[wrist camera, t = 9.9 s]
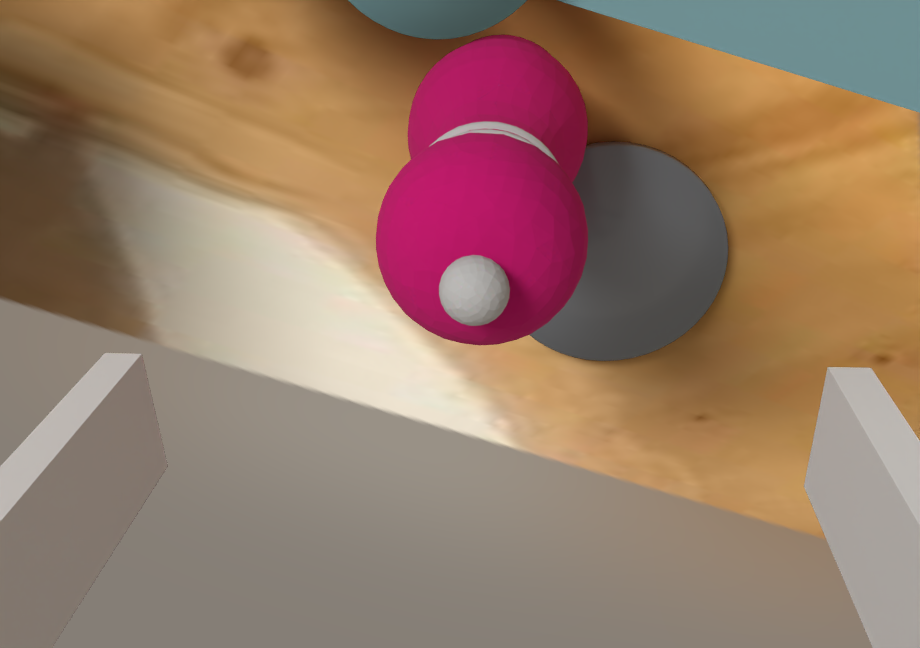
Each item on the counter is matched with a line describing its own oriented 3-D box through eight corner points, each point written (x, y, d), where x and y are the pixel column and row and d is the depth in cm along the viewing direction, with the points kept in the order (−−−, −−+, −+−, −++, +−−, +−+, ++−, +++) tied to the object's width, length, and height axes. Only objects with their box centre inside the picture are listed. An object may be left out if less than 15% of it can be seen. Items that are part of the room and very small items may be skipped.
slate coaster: (494, 351, 44) (493, 359, 43) (491, 142, 39) (491, 147, 38) (711, 354, 43) (714, 362, 42) (738, 140, 38) (742, 145, 37)
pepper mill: (603, 44, 37) (666, 202, 19) (557, 200, 40) (575, 457, 22) (439, 3, 36) (349, 125, 19) (407, 163, 40) (304, 394, 22)
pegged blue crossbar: (333, -28, 15) (226, 24, 10) (378, -260, 14) (278, -344, 8) (1097, 206, 16) (1369, 367, 11) (1228, 15, 14) (1624, 95, 9)
